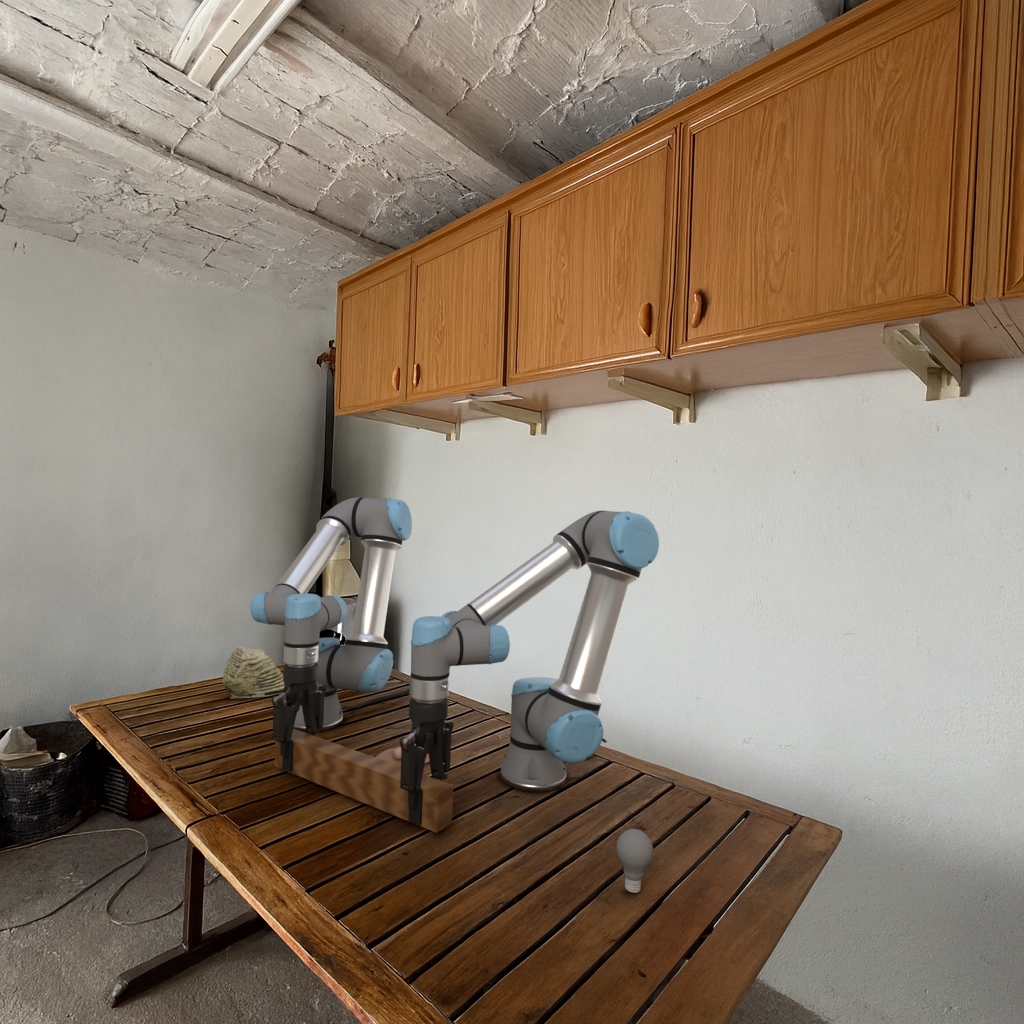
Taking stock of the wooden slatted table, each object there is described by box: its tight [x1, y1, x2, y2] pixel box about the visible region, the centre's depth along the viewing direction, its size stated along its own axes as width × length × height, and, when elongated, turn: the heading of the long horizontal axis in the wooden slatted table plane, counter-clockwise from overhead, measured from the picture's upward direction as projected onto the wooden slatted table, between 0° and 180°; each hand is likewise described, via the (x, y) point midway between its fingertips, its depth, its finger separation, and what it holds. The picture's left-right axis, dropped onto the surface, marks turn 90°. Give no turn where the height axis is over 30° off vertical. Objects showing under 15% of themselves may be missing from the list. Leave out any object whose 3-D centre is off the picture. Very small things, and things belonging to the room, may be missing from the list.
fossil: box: [222, 646, 285, 699], centre depth 198 cm, size 9×18×15 cm, turn 132°
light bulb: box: [615, 828, 654, 894], centre depth 106 cm, size 6×6×10 cm
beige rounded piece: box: [374, 746, 430, 766], centre depth 155 cm, size 13×4×12 cm
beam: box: [274, 729, 454, 834], centre depth 133 cm, size 47×5×7 cm, turn 57°
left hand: (297, 765), depth 143 cm, fingers closed on beam, 5 cm apart
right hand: (424, 816), depth 123 cm, fingers closed on beam, 5 cm apart
